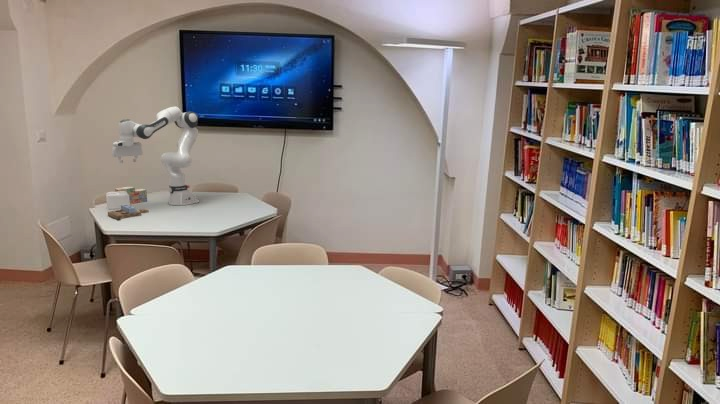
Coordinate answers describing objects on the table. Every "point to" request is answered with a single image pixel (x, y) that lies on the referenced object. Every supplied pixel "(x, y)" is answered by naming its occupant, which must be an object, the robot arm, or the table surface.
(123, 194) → the cable organizer
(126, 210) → the strip
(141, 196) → the stack of blocks
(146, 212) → the block
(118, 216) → the board
